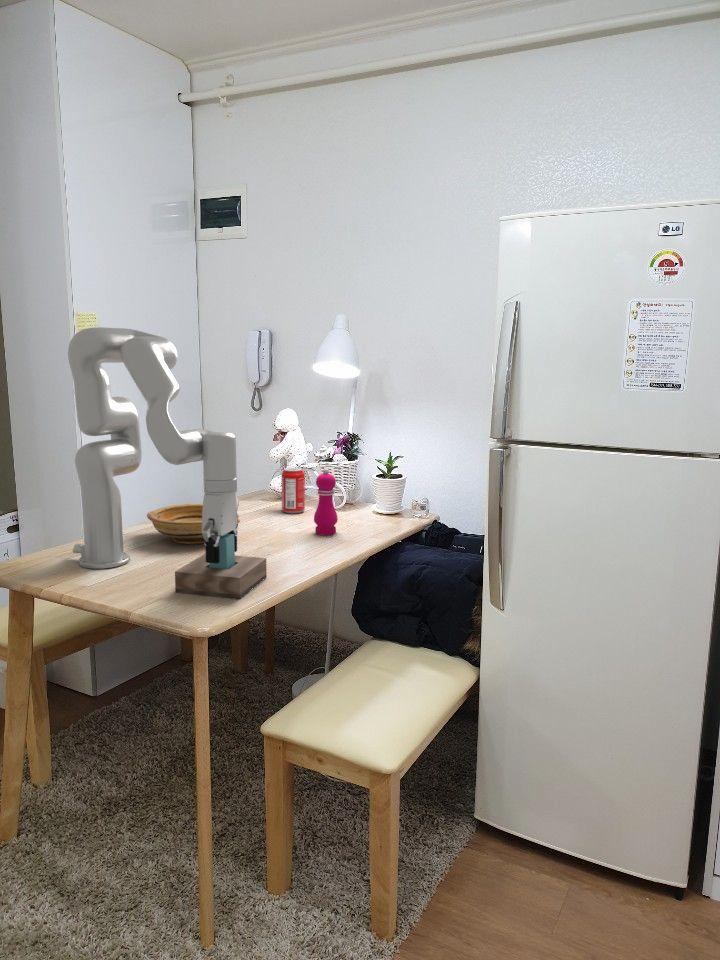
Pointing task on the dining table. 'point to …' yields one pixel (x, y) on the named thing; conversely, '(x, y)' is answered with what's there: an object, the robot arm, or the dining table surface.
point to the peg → (225, 552)
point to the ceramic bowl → (179, 522)
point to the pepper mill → (325, 505)
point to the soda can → (293, 490)
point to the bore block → (220, 577)
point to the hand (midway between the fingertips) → (221, 556)
